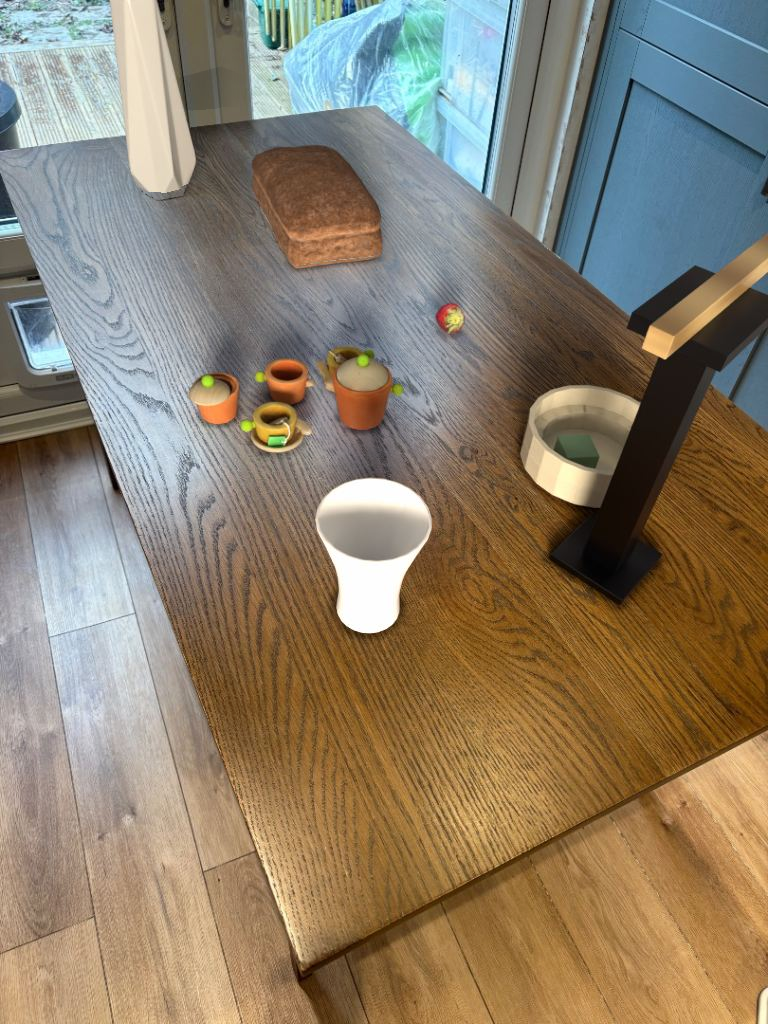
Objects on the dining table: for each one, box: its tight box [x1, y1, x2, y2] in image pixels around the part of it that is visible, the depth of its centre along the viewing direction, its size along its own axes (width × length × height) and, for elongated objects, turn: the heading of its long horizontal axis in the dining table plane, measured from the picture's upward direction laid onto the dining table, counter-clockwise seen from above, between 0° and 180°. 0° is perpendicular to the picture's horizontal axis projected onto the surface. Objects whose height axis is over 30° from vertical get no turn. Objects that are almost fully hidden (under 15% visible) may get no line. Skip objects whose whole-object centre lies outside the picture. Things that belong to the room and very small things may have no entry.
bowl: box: [519, 384, 641, 509], centre depth 92 cm, size 16×16×6 cm
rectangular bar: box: [641, 232, 768, 359], centre depth 60 cm, size 24×2×2 cm, turn 138°
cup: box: [314, 477, 433, 634], centre depth 72 cm, size 10×10×14 cm
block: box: [554, 434, 600, 469], centre depth 91 cm, size 4×4×4 cm
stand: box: [548, 264, 768, 606], centre depth 71 cm, size 11×9×32 cm
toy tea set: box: [188, 345, 404, 453], centre depth 94 cm, size 26×16×10 cm, turn 116°
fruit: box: [435, 302, 466, 335], centre depth 111 cm, size 4×6×5 cm
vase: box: [109, 0, 197, 193], centre depth 127 cm, size 12×12×33 cm
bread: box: [251, 144, 383, 269], centre depth 129 cm, size 17×29×11 cm, turn 19°
